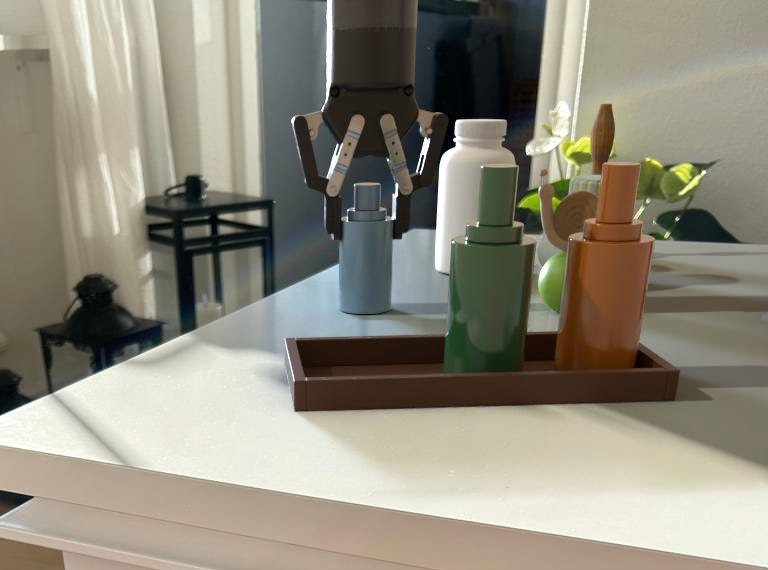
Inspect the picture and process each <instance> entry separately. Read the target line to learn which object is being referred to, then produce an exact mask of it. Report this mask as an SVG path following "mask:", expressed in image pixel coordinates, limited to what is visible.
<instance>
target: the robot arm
mask: <svg viewBox="0 0 768 570" xmlns="http://www.w3.org/2000/svg"><path fill="white" fill-rule="evenodd" d="M326 2H327V4H326V5H327V7H326V10H325V21H326V96H325V99H324V102H323V103H322V106H321V108H320V110H317V111H314V112H310V113H307V114H303V115H302V114H295V115H294V116H293V117H292V119H291V125H292V131H293V134H294V139H295V144H296V149H297V153H298V158H299V162H300V166H301V171H302V175H303V180H304V183H305V185H306V186H307V188H308V189H310V190H314V191H316V192H319V193H321V194H323V197H324V198H323V199H324V200H323V201H324V202H323V203H324V205H323V206H324V208H323V209H324V212H323V213H324V214H323V215H324V216H323V217H324V222H323V225H324V227H323V228H324V229H325V232H326V234H327V235H330V236H331V240H332V241H333V242H339V241H341V218H342V207H343V206H342V201H343V199H342V198H343V197H342V196H341V195H340V192H341V188H342V187H343V186H342V185H343V183H344V180H345V178H346V174H347V172H348V170H349V168H350V165H351V163H352V159H362V158H366V157H369V156H372V157H376V158H385V159H386V162H387V165H388V169H389V171H390V173H391V176H392V179H393V183H394V186H395V191H394V192H395V193H392V205H391V208H392V209H391V217H393V218H394V241H397V240H398V241H399V240H400V241H401V240H403V233H408V231H409V229H410V226H411V205H412V203H411V202H412V196H413V194H414V193H415V192H416V191H419V190H420V189H423V188H429V187H430V186H431V185H432V184H433V182H434V178H435V176H436V175H435V174H436V171H437V167H438V163H439V160H440V155H441V152H442V149H443V144H444V141H445V137H446V134H447V129H448V125H449V117H448V115H447V114H445V113H443V112H440V111H439V112H432V111H427V110H424V109H420V107H419V104H418V102H417V100H416V97H415V76H416V73H415V71H416V54H417V53H416V52H417V51H416V50H417V29H418V28H417V27H418V5H419V2H418V0H326ZM416 122H417V123H418V125H419V134H420V136H421V137H422V138H424V141H423V144H422V149H421V152H420V156H419V160H418V164H417V168H416V171H415V172H414V173H412V174H410V172H409V169H408V163H407V159H406V157H405V153H404V149H403V146H402V143H403V141H404V140H405V138H406V137H407V136H408V134H409V132H410V131H411V129H412V128H413V127H414V125H415V124H416ZM322 124H324V126H325V127H326V129H327V130H328V131H329V133H330V134H331V136H332V138H333V139H334V141H335V142H336V148H335V150H334V153H333V156H332V159H331V163H330V167H329V168H328V169H329V170H328V173H327V175H326V176H323V175H321V174H320V173H319V171H318V165H317V160H316V157H315V152H314V148H313V141H315V140H317V138H318V136H319V128H320V126H321V125H322Z"/></svg>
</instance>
